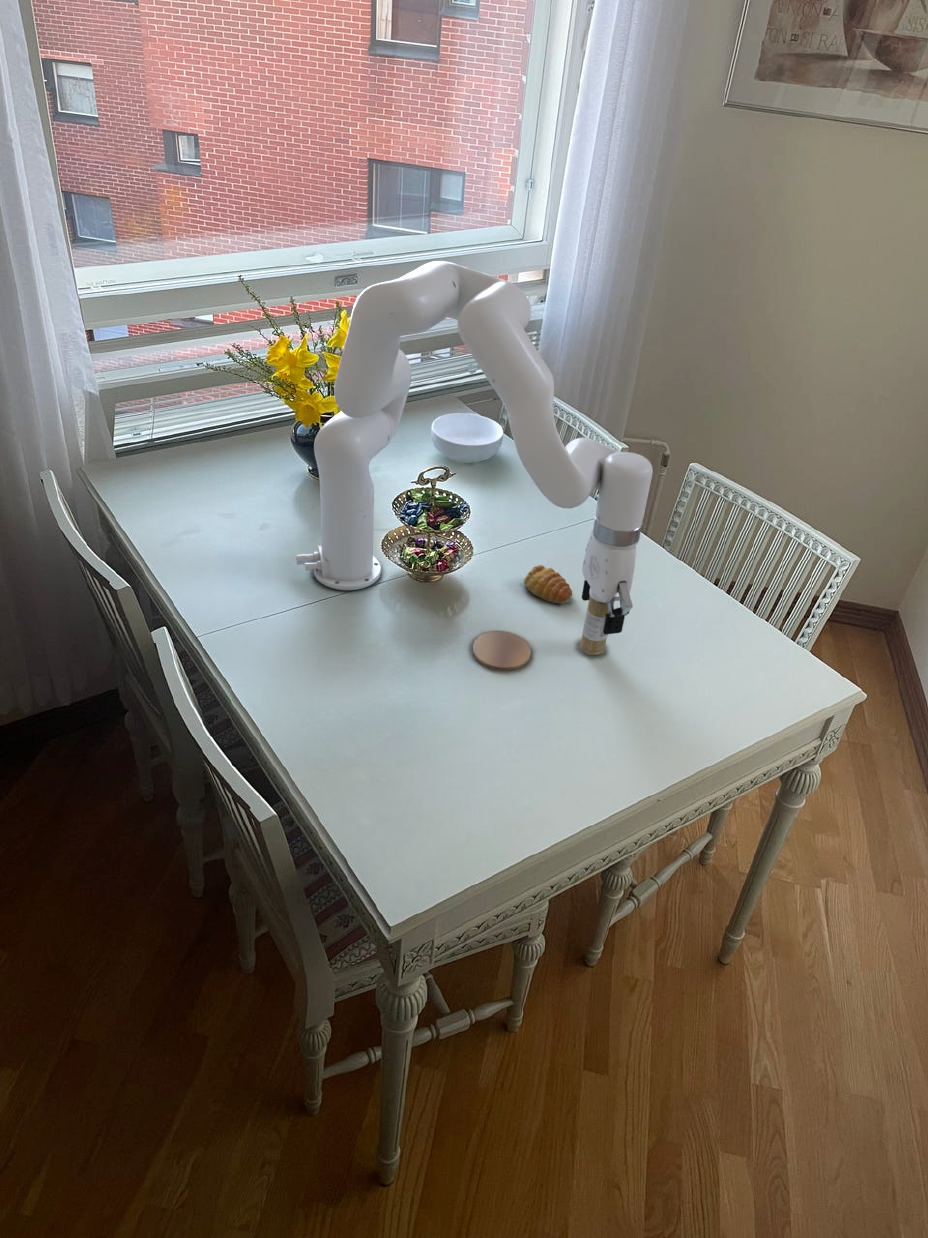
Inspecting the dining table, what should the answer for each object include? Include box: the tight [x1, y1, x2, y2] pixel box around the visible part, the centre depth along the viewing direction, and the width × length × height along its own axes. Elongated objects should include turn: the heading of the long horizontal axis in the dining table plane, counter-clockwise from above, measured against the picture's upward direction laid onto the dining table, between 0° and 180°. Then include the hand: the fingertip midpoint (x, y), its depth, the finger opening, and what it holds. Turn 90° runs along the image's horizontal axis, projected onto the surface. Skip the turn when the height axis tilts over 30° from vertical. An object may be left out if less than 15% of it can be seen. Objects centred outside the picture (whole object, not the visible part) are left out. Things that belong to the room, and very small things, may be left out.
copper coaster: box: [472, 630, 532, 671], centre depth 160 cm, size 10×10×1 cm
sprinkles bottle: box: [579, 587, 618, 656], centre depth 158 cm, size 5×5×14 cm
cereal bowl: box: [430, 412, 504, 464], centre depth 215 cm, size 17×17×7 cm
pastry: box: [523, 564, 573, 605], centre depth 174 cm, size 9×7×4 cm
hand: (600, 615), depth 158 cm, fingers open, 9 cm apart
